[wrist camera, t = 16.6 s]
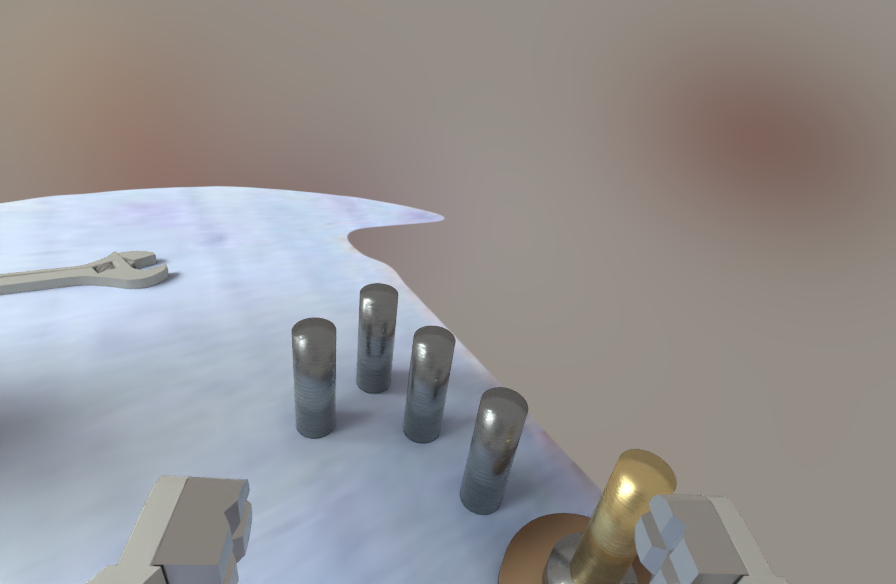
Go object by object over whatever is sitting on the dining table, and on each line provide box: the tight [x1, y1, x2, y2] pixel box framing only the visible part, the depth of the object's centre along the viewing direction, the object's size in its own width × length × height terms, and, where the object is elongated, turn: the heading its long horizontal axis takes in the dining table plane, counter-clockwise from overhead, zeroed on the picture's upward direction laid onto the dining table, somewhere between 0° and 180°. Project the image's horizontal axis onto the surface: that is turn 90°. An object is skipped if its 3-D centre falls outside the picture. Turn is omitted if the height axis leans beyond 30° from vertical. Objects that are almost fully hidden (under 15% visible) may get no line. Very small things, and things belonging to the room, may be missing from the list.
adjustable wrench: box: [0, 251, 169, 295], centre depth 55 cm, size 25×6×2 cm, turn 111°
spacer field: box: [292, 283, 528, 515], centre depth 42 cm, size 15×17×10 cm
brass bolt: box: [542, 449, 677, 584], centre depth 31 cm, size 6×6×12 cm
